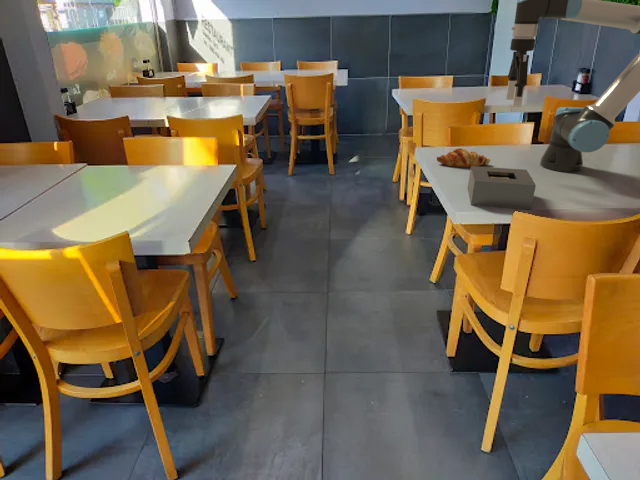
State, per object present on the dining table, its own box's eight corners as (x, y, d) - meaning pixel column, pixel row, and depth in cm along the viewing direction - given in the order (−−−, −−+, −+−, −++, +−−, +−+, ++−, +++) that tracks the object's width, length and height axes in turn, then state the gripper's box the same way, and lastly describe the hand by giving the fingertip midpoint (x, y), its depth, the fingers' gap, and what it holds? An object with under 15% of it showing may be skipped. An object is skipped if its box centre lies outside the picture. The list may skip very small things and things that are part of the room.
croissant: (485, 171, 198) (485, 151, 198) (494, 166, 188) (494, 146, 188) (433, 169, 197) (433, 150, 198) (440, 165, 187) (440, 144, 188)
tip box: (522, 192, 165) (526, 169, 162) (530, 209, 151) (535, 185, 148) (467, 188, 168) (470, 166, 165) (470, 204, 154) (474, 180, 151)
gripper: (505, 35, 174) (496, 96, 183) (519, 40, 152) (508, 109, 161) (527, 35, 173) (517, 97, 182) (544, 40, 150) (531, 109, 160)
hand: (513, 102), depth 171 cm, fingers open, 13 cm apart
